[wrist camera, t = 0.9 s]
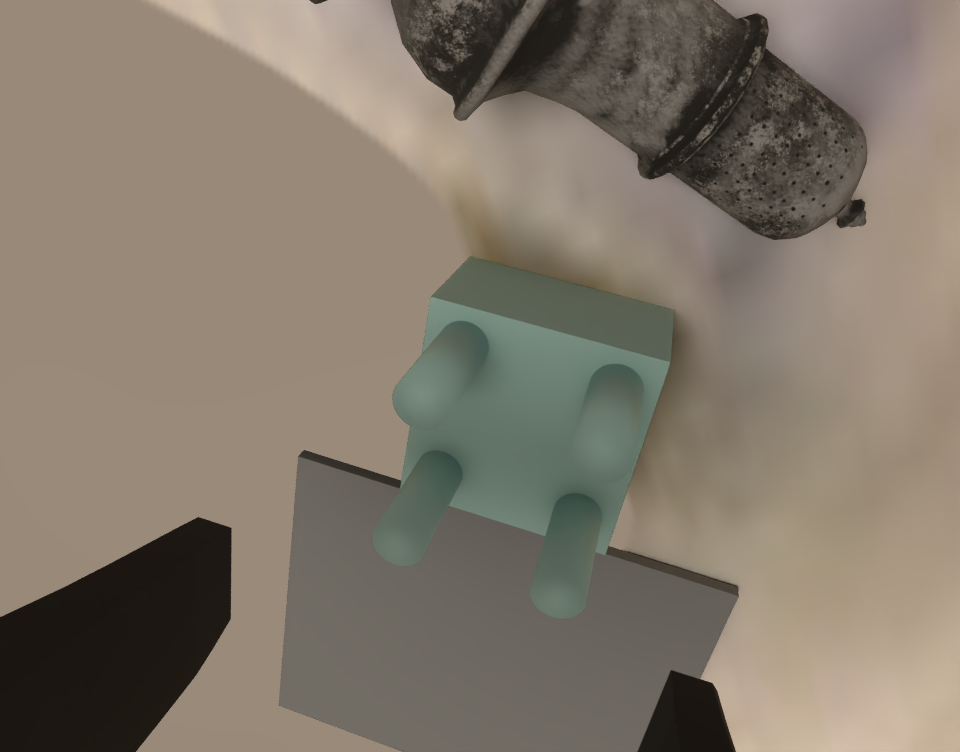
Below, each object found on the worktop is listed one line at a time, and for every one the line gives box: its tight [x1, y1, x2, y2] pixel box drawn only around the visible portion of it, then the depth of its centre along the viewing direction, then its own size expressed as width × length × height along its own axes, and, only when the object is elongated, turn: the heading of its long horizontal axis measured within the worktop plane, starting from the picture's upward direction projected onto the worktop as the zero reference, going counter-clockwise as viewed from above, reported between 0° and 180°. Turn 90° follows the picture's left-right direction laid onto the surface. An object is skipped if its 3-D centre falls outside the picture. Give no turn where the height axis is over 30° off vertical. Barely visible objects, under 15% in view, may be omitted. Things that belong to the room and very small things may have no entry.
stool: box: [372, 256, 674, 619], centre depth 18 cm, size 6×6×6 cm
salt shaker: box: [310, 0, 867, 240], centre depth 14 cm, size 6×6×12 cm
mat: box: [279, 450, 739, 752], centre depth 25 cm, size 14×12×1 cm
